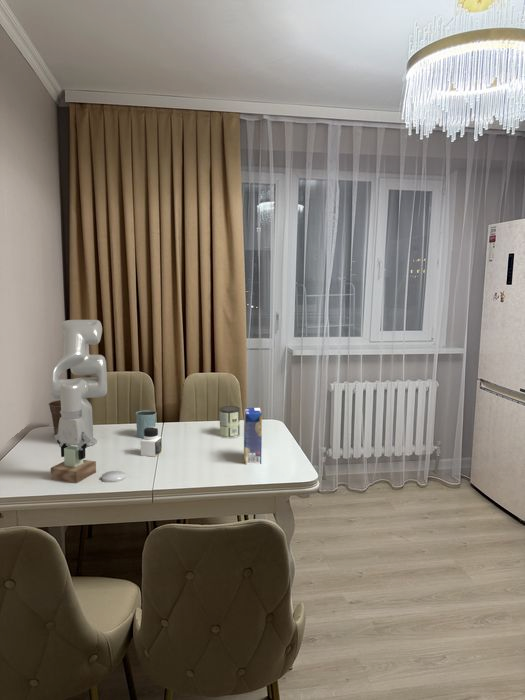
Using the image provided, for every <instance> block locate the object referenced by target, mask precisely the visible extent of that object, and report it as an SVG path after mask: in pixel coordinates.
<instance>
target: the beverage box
mask: <svg viewBox="0 0 525 700" xmlns="http://www.w3.org/2000/svg"><path fill="white" fill-rule="evenodd" d="M262 417H263V414H262V411H261V407H244V408H243V459H244V464H245V465H261V464H262V445H263V444H262V443H263V442H262V439H263V438H262V436H263V435H262V433H263V432H262V431H263V429H262V427H263V420H262V419H263V418H262Z"/></svg>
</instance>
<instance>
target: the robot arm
mask: <svg viewBox="0 0 525 700" xmlns="http://www.w3.org/2000/svg"><path fill="white" fill-rule="evenodd" d="M60 329H61V332H62V335H63V337H64V339H63V357H62V358H61V359H59V360H58V361H57V362H56V364H55V365H54V367H53V368H52V369H51V372H50V379H49V394H50V395H51V398H54V399H60V400H61V411H60V414H61V418H60V420H59V427H58V434H56V435H55V434H54V438H55V440H56V441H57V444H58V446H59V448H60V457H61V458H64V448H66V447H69V446H71V445H77V446H78V447H79V449H80V450H79V451H78V454H79V460H82V459H83V460H85V458H86V449H87V447H91V446H93V445H94V446H95V444H97V438H94V429H93V428H94V426H93V425H94V423H93V421H94V420H93V407H92V404H91V402H90V401H89V400H88V399H90V398H93V399H94V398H103V397H105V396H107V393H108V379H107V378H108V375H107V374H108V373H107V372H108V371H107V361H106V358H105V356H104V355H102V354H90V345H98V344H99V343H100V342H101V340H102V334H103V326H102V323H101V321H100V320H98V319H68V320H64V321H62V322H61V324H60ZM68 369H70V371H71V374H72V375H74V376H96V377H76V378H69V379H67V378H65V379H64V378H63V379H59V377H60V375H61V374H62V373H64V372H65V371H66V370H68ZM68 445H69V446H68Z"/></svg>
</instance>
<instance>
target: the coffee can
mask: <svg viewBox="0 0 525 700" xmlns="http://www.w3.org/2000/svg"><path fill="white" fill-rule="evenodd" d="M240 411H241V407H238V406H235V405H224V406H221V407H219V437H221V438H224V439H235V438H238V437H240V436H241V435H240V434H241V433H240V430H241V429H240V428H241V427H240V426H241V425H240V416H241V415H240Z"/></svg>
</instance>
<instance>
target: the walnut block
mask: <svg viewBox="0 0 525 700" xmlns="http://www.w3.org/2000/svg"><path fill="white" fill-rule="evenodd" d="M96 473H97V461H95V460H88V459H83V464H81V465H79V466H76V467H70V466H64V461H62V462H60V463H57V464H55V465H54V466H52V467H50V480H53V479H55V481H60V482H68V483H73V484H78V483H80V482H81V481H84V480H85V479H87V478H89V477H91V476H92V475H94V474H96Z"/></svg>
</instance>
